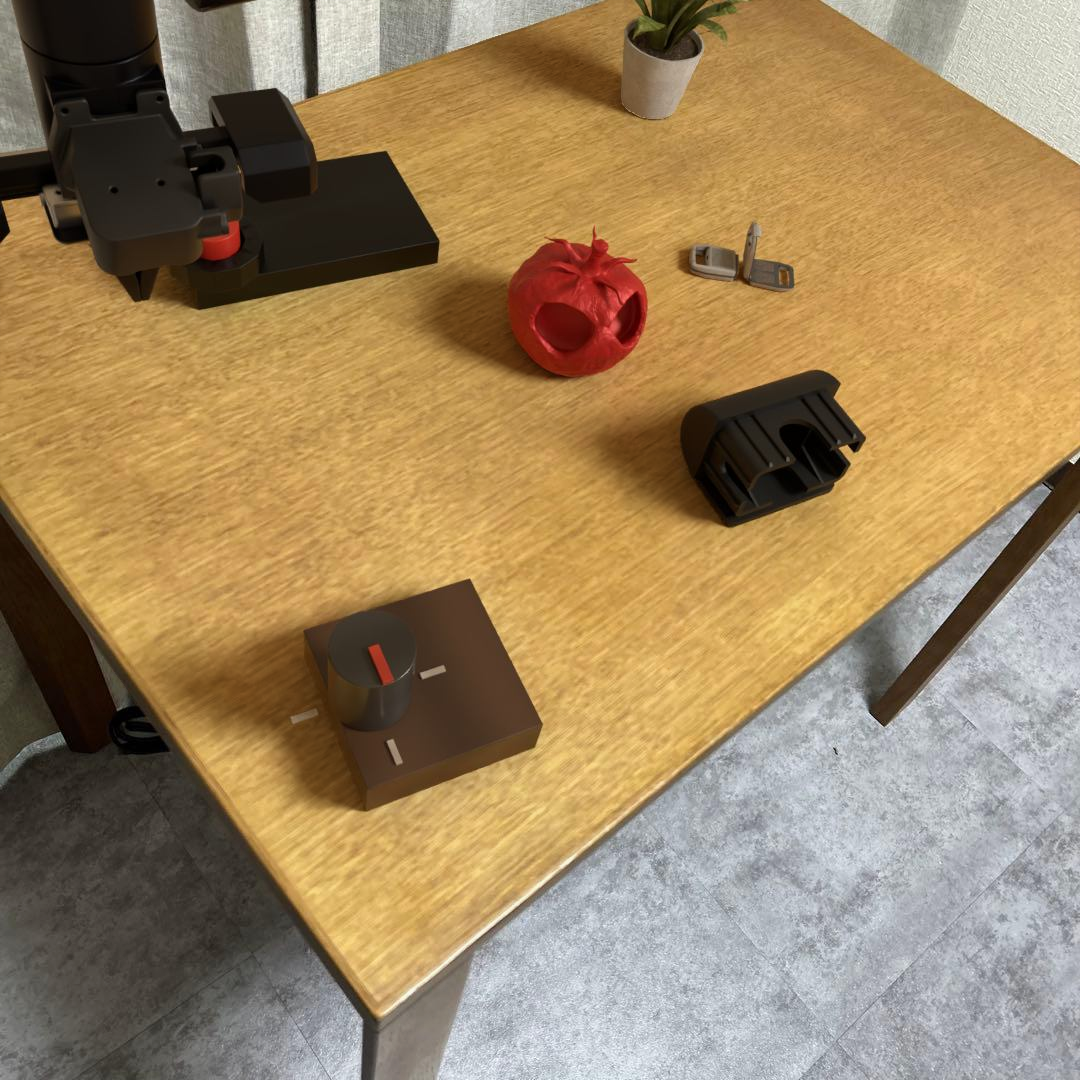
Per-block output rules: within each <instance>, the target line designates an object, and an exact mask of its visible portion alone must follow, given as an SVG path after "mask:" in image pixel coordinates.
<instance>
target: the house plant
mask: <svg viewBox="0 0 1080 1080" xmlns="http://www.w3.org/2000/svg"><path fill="white" fill-rule="evenodd" d="M634 1H635V2H636V4H637V5H638V6H639V8H640V10H641V12H642V14H640V15H638V17H636V18H633V19H631V20H630V21H629V22H628V23H627V24H626V26H625V27H624V30H623V34H624V35H623V50H622V69H621V70H622V71H621V87H620V88H621V89H620V93H621V94H620V101H621V100H622V102H621V104H622V103H623V104H624V106H625V107H626V108H627V109H628V110H630V111H631V112H634V113H635V114H637V115H639V116H641V117H645V118H653V119H658V118H659V119H660V118H665V117H668V116H670V115H672V114H673V113H674V114H675V113H676V110H677V108H678V106H679V104H680V102H681V100H682V98H683V95H684V94H685V91H686V89H687V87H688V85H689V83H690V81H691V78H692V76H693V75H694V72H695V71H696V69H697V66H698V64H699V62H700V60H701V58H702V55H703V54H704V51H705V42H704V40H703V38H702V36H701V35H702V34H704V33H712V34H714V35H716V36H717V37H718V38H719V39H721V40H722V41H723V43H724V44H725V46H726V48H728V34H727V32H726V29H725V28H724V27H723V26H722V25H721V24H720V23H719V22H716V21H714V20H711V18H716V17H720V16H727V15H732V14H740V15H742V14H743V13H742V12H741V11H740V9H738V8H737V7H736V6H735V4H736V5H737V6H739V5H738V4H739V3H745V2H746V3H750V2H751V3H752V2H755V0H724V1H722V2H715V1H714V0H650V5H651V6H650V9H651V12H650V11H649V8H648V5H647V2H646V0H634ZM708 1H709V2H711V3H713V4H711V5H708V6H706V7H703V6H705V4H707V2H708ZM702 7H703V8H702ZM701 8H702V9H701ZM700 9H701V10H700ZM699 25H701V26H703V27H705V28H707V29H708V30H706V32H700V33H698V31H697V30H695V29H696V28H697V27H698V26H699ZM624 106H623V107H624ZM674 114H673V115H674ZM673 115H672V116H673Z"/></svg>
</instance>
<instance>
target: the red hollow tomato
mask: <svg viewBox="0 0 1080 1080" xmlns="http://www.w3.org/2000/svg"><path fill="white" fill-rule="evenodd" d="M597 237H598V236H597V233H596V225H593V228H592V241H591V244H590V246H589V245H587V244H584V243H580V242H569V241H568V240H567V239H565V238H550V237H547V236H544V238H545V239H547V240H548V241H550V242H548V243H545V244H543V245H541V246H540V247H539V248H538V249H537V250H536V251H535V253H533V254H532V255H531V256H530V257H528V258H526V259H525V260H524V261H523V262H522V263H521V264H520V266H519V268H517V270H515V272H514V273H513V275H512V276H511V278H510V280H509V283H508V287H507V292H506V293H507V294H506V295H507V298H506V302H507V312H508V318H509V323H510V328H511V330H512V333H513V335H514V338H515V339H516V341H517V342H518V344H519V345H520V347H521V348H522V349H523V350H524V351H525V352H526V354H527V355H528V356H529V357H530V358H531V359H532V360H533V362H534V363H536V364H537V365H539V366H540V368H543V369H544V370H547V371H548V372H550V373H554V374H556V375H560V376H561V375H562V376H564V377H568V378H569V377H586V376H593V375H596V374H599V373H604V372H606V371H608V370H611V369H612V368H615V366H616V365H617V364H619V363H620V362H621V361H623V360H624V359H626V358H627V357H628V356H629V355H630V354H631V353H632V351H633V350H634V349H636V346H637V345H638V343H639V341H640V338H641V337H642V335H643V333H644V330H645V327H646V322H647V314H648V310H649V309H648V308H649V307H648V305H649V300H648V295H647V290H646V287H645V285H644V283H643V281H642V279H641V278H640V277H638V275H636V274H635V273H634V272H633V270H631V268H629V267H628V266H627V265H625V264H634V263H636V262H637V261H638V258H635V259H632V258H627V257H625V256H618V257H614V256H612V255H611V254H609V253H608V250H609V246H610V245H609V243H608V242H607V241H605V240H604V239H603V238H598V239H597Z"/></svg>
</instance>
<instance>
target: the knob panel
mask: <svg viewBox="0 0 1080 1080" xmlns="http://www.w3.org/2000/svg"><path fill="white" fill-rule="evenodd" d="M368 610H375V611H383V612H387V613H390V614H392V615H394V616H396V617H398V618H400V619H401V620H402V621H403V622H405V623H406V624H407V625H408V627H409V628H410V629H411V631H412V633H413V634H414V637H415V639H416V644H417V655H416V663H415V671H414V679H413V688H412V696H411V702H410V705H409V707H408V709H407V711H406V713H405V714H404V716H403V717H402V718H401V719H400V720H399V721H397V722H396V723H395V724H393V725H391V726H390V727H387V728H385V729H382V730H377V731H361V730H357V729H354V728H351V727H349V726H347V725H345V724H344V723H342V722H341V721H340V720H339V719H338V718H337V717H336V716H335V714H334V713H333V711H332V709H331V707H330V704H329V701H328V650H327V647H328V641H329V638H330V635H331V633H332V632H333V630H334V628H335V627H336V626H337V625H338V624H339V623H340V622H341V621H342V620H344V619H345V618H347V617H348V616H349V615H348V616H344V617H341V618H338V619H334V620H331V621H328V622H325V623H321V624H319V625H315V626H311V627H309V628H306V629H303V650H304V651H303V653H304V659H305V661H306V664H307V666H308V669H309V671H310V674H311V677H312V679H313V682H314V684H315V687H316V689H317V691H318V695H319V697H320V699H321V702H322V704H323V707H324V709H325V713H326V714H327V717H328V719H329V722H330V725H331V728H332V730H333V732H334V735H335V737H336V740H337V742H338V746H339V747H340V750H341V752H342V755H343V757H344V760H345V762H346V765H347V768H348V770H349V772H350V776H351V777H352V780H353V783H354V785H355V788H356V790H357V793H358V795H359V798H360V801H361V803H362V806H363V808H364V810H365V812H370V811H372V810H375V809H378V808H380V807H383V806H386V805H388V804H390V803H393V802H396V801H398V800H401V799H403V798H406V797H409V796H411V795H414V794H417V793H420V792H422V791H424V790H427V789H430V788H433V787H435V786H438V785H440V784H444V783H446V782H448V781H451V780H454V779H457V778H459V777H461V776H462V777H463V776H464V775H467V774H469V773H472V772H474V771H477V770H479V769H483V768H485V767H488V766H490V765H491V766H492V765H493V764H496V763H498V762H501V761H503V760H507V759H509V758H511V757H514V756H516V755H519V754H523V753H525V752H527V751H530V750H532V749H535V748H536V746H537V743H538V741H539V737H540V735H541V732H542V729H543V726H544V723H543V721H542V719H541V717H540V715H539V713H538V711H537V708H536V707H535V705H534V703H533V701H532V699H531V697H530V695H529V693H528V691H527V689H526V687H525V685H524V683H523V681H522V679H521V677H520V676H519V673H518V671H517V669H516V668H515V667H516V666H515V665H514V663H513V661H512V659H511V657H510V655H509V653H508V651H507V649H506V647H505V645H504V643H503V641H502V639H501V637H500V635H499V634H498V631H497V629H496V627H495V625H494V623H493V621H492V619H491V618H490V615H489V613H488V611H487V609H486V607H485V604H484V603H483V601H482V599H481V597H480V595H479V593H478V592H477V590H476V587H475V585H474V583H473V581H472V579H471V578H470V577H469V578H466V579H462V580H460V581H456V582H453V583H449V584H446V585H444V586H440V587H437V588H434V589H430V590H427V591H424V592H421V593H418V594H415V595H411V596H409V597H405V598H401V599H399V600H395V601H392V602H389V603H386V604H383V605H379V606H377V607H373V608H369V609H367V610H365V611H368ZM317 716H319V712H318V709H317V708H312V709H310V710H307V711H303V712H301V713H298V714H295V715H292V716H290V717H289V718H290V721H291V724H293V725H294V724H297V723H299V722H303V721H306V720H308V719H312V718H314V717H317Z"/></svg>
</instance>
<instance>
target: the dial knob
mask: <svg viewBox="0 0 1080 1080" xmlns="http://www.w3.org/2000/svg"><path fill="white" fill-rule="evenodd" d="M367 610H368V611H366V610H361V611H357V612H355V613H352V614H350V615H348V617H347V616H346V617H347V618H345V619H344V620H342V621H341V622H340V623H339V624H338V625H337V626H336V627H335V628H334V630H333V632H332V633H331V635H330V638H329V641H328V647H327V650H328V701H329V704H330V707H331V709H332V711H333V713H334V714H335V716H336V717H337V718H338V719H339V720H340V721H341V722H342V723H344V724H345V725H347V726H349V727H351V728H354V729H357V730H361V731H377V730H382V729H385V728H387V727H390V726H391V725H393V724H395V723H396V722H397V721H399V720H400V719H401V718H402V717H403V716H404V714H405V713H406V711H407V709H408V707H409V705H410V702H411V696H412V688H413V679H414V671H415V663H416V655H417V644H416V639H415V637H414V634H413V633H412V631H411V629H410V628H409V627H408V625H407V624H406V623H405V622H403V621H402V620H401V619H400V618H398V617H396V616H394V615H392V614H390V613H387V612H383V611H375V610H369V609H367Z"/></svg>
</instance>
